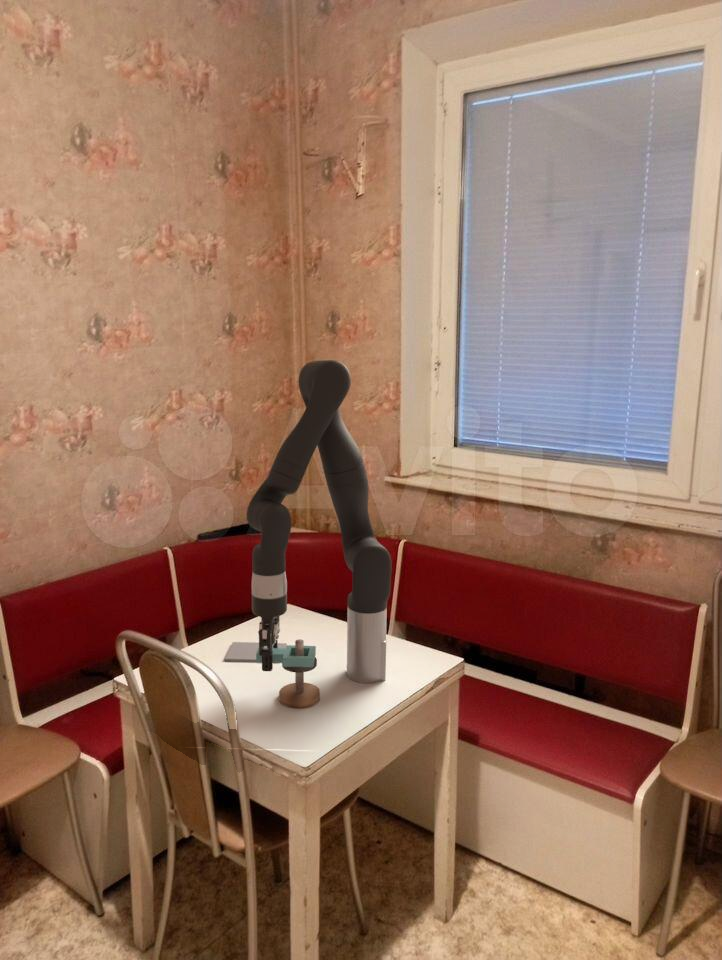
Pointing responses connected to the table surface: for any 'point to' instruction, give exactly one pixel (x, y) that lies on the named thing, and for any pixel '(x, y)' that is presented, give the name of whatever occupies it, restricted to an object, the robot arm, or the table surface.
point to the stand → (299, 685)
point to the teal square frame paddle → (292, 656)
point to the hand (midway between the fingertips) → (270, 662)
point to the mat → (246, 651)
